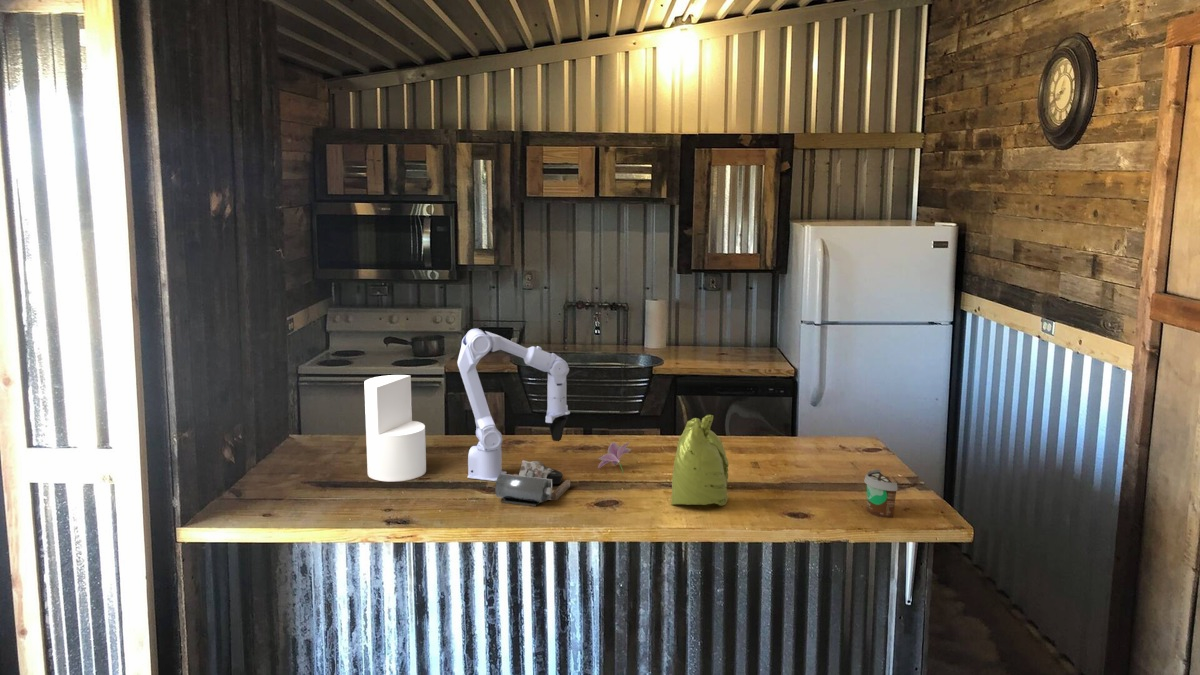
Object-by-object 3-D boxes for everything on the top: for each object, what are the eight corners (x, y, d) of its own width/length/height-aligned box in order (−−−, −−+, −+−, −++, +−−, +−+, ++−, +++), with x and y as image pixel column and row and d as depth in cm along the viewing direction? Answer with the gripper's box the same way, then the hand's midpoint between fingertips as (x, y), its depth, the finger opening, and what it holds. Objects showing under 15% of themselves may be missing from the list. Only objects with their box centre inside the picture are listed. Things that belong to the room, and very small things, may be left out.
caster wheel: (562, 487, 269) (552, 494, 259) (527, 476, 271) (516, 482, 262) (567, 466, 269) (558, 471, 259) (532, 455, 271) (522, 460, 261)
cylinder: (355, 476, 269) (351, 384, 264) (389, 460, 285) (386, 372, 280) (404, 484, 263) (402, 390, 258) (437, 467, 279) (435, 378, 274)
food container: (855, 503, 251) (857, 469, 249) (877, 503, 251) (879, 468, 250) (872, 520, 239) (875, 484, 237) (895, 520, 239) (897, 483, 237)
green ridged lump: (726, 514, 242) (729, 426, 238) (667, 510, 245) (670, 423, 241) (729, 483, 266) (732, 403, 262) (676, 480, 269) (678, 400, 265)
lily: (637, 468, 283) (626, 439, 284) (642, 465, 271) (630, 435, 273) (601, 482, 281) (590, 453, 283) (605, 479, 269) (593, 449, 271)
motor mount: (488, 501, 250) (487, 477, 248) (514, 480, 267) (513, 457, 266) (547, 509, 245) (547, 484, 244) (570, 486, 262) (570, 463, 261)
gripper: (561, 403, 265) (561, 448, 268) (577, 392, 279) (577, 434, 281) (538, 401, 267) (538, 445, 270) (555, 390, 281) (555, 432, 283)
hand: (556, 440), depth 276 cm, fingers closed
